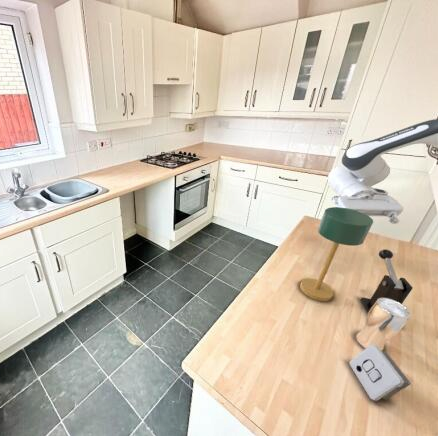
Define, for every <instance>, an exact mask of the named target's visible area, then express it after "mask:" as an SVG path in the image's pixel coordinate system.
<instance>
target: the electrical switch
mask: <svg viewBox="0 0 438 436" xmlns="http://www.w3.org/2000/svg"><path fill="white" fill-rule="evenodd" d="M349 366H350V368H351V369H352V371H353V372H354V375H355V376H356V377H357V379H358V381H359V382H360V384H361V385H362V388H363V389H364V391H365V392H366V394H367V396H368V397H369V398H370V399H371V400H373V401H376V402H377V401H379V400H381V399H382V400H388V399H389V398H391V397H393V396H395V395H396V394H398V393H399V392H401V391H402V390H404V389H405V388H408V387H409V386H411V385H412V383H411V382H410V380H409V379H408V377H407V376H406V375H405V374H404V372H403V371H402V370H401V369H400V367H399V366H398V365H397V363H396V362H395V361H394V360H393V358H392V357H391V356H390V354H389V353H388V352H387V351H386V350H385V351H384V350H382V351H381V350H380V349H379V348H378V346H376V345H370V346H369V347H367V348H364V350H362V351H361V352H360V353H358V354H357V355H356V356H355V357H354V358H352V359H351V360H349Z"/></svg>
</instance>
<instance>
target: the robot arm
mask: <svg viewBox="0 0 438 436" xmlns="http://www.w3.org/2000/svg"><path fill="white" fill-rule="evenodd" d="M418 144H423V145H429V146H432V147H434V148H437V149H438V118H437V119H436V118H434V119H429V120H425V121H421V122H419V123H416V124H413V125H410V126H407V127H404V128H402V129H399V130H397V131H393V132H391V133H388V134H386V135H383V136H380V137H378V138H377V137H376V138H374V139H371V140H367V141H363V142H360V143H355V144H354V145H352V146H350V147H349V148H347V149H346V151H345V152H344V153H343V155H342V157H341V164H342V165H343V166H336V167H333V169H331V170H330V171H329V173H328V175H327V182H328V184H329V187H331V189H332V190H333V191H334V192H335V194H338V195H334V196H333V197H331V201H332V203H334V207H340V208H347V209H352V210H356V211H359V212H361V213H364V214H366V215H368V216H369V217H387V218H389V220H388V222H389V223H390V224H391V225H397V224H398V223H399V222H400V221H401V220H400V219H399V217H398V216H399V215H400V214H401V213H402V212H403V211H404V207H403V205H402V204H401V203H400V202H399V201H397V199H395V198H394V197H393V196H391V195H389V192H388V191H386V190H385V189H382V188H381V189H380V188H375V187H373V186H375V185H377V184H379V183H381V182H383V181H385V180H386V179H387V178H388V176H389V175H390V174H391V167H390V166H389V164H388V163H387V162H386V160H385V159H384V158H383V157H382V155H384V154H388V153H390V152H393V151H396V150H400V149H403V148H406V147H409V146H412V145H418Z"/></svg>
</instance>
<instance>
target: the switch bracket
mask: <svg viewBox="0 0 438 436" xmlns="http://www.w3.org/2000/svg"><path fill="white" fill-rule="evenodd" d="M398 280H401V282H402V285H403V288H404V289H403V290H401V291H399V292H397V291H393V289H394V288H395V286H396V284H395V283H394V282H393V281H392V279H391V278H390V276H389V274H384V276H383V277H382V279H381V281H380V283H379V284H378V285H377V287H376V289H375V290H374V293H373V294H372V296H371V298H367V297H361V298H360V302H361V304H362V306H363V307H364V309H365V310H366V312H367V313H368V312H369V311H370V309H371V307H372V306H373V305H374V303H375V302H376V301H377V299H379V298H389V299H392V300H395V301H397V302H399V303H401V304H402V305H403V303H404V302H405V301H406V299H407V297H408V296H409V294H410V293H411V292H412V290H413V289H414V287H413V286H412V285H411V283H410V282H409V281H408V280H407V279H406V278H404V277H400V278H399V279H398Z"/></svg>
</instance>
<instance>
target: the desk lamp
mask: <svg viewBox="0 0 438 436" xmlns="http://www.w3.org/2000/svg"><path fill="white" fill-rule="evenodd" d="M373 224H374V219H373V218H372V216H368V215H366V214H364V213H361V212H359V211H356V210H352V209H347V208H340V207H335V206H334V207H333V206H332V207H327V208H326V209H324V211H323V214H322V217H321V219H320V222H319V225H318V227H317V232H318V234H319V235H320V236H321V237H323V238H325V239H326V240H328V241H331V242H332V244H331V246H330V249H329V251H328V254H327V256H326V258H325V261H324V263H323V266H322V268H321V270H320V273H319V275H318V278H317V279H316V278H310V277H309V278H304V279H302V281H301V282H300V285H299V286H300V287H299V288H300V290H301V292H302V293H303V294H304V295H306V296H307V297H309V298H311V299H313V300H315V301H319V302H328V301H330V300H331V299H332V298H333V296H334V290H333V289H332V287H331V286H329V285H328V284H327V283H326V282H325V281H324V280H325V278H326V275H327V274H328V272H329V271H328V270H329V268H330V266H331V264H332V262H333V259H334V257H335V254H336V253H337V250H338V248H339V246H340V245H343V246H351V247H352V246H360V245H362V244H364V242H365V240H366V238H367V237H368V234H369V232H370V230H371V228H372V226H373Z"/></svg>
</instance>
